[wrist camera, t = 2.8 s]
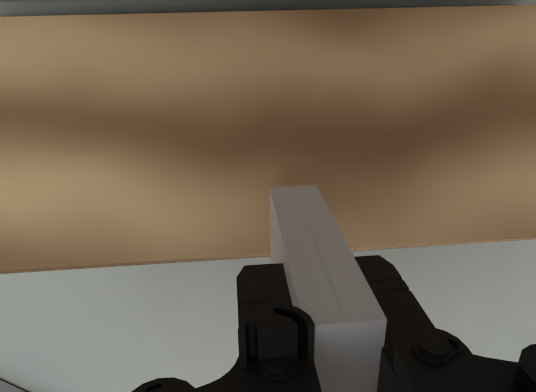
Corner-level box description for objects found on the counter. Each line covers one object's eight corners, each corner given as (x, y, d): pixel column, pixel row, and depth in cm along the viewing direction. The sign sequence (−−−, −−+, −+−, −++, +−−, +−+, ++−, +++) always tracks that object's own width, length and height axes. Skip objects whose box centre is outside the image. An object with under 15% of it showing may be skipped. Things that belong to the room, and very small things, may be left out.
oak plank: (-4, 44, 19) (-32, 17, 17) (515, 30, 21) (544, 4, 19) (-17, 275, 17) (-51, 274, 15) (557, 237, 19) (594, 232, 17)
